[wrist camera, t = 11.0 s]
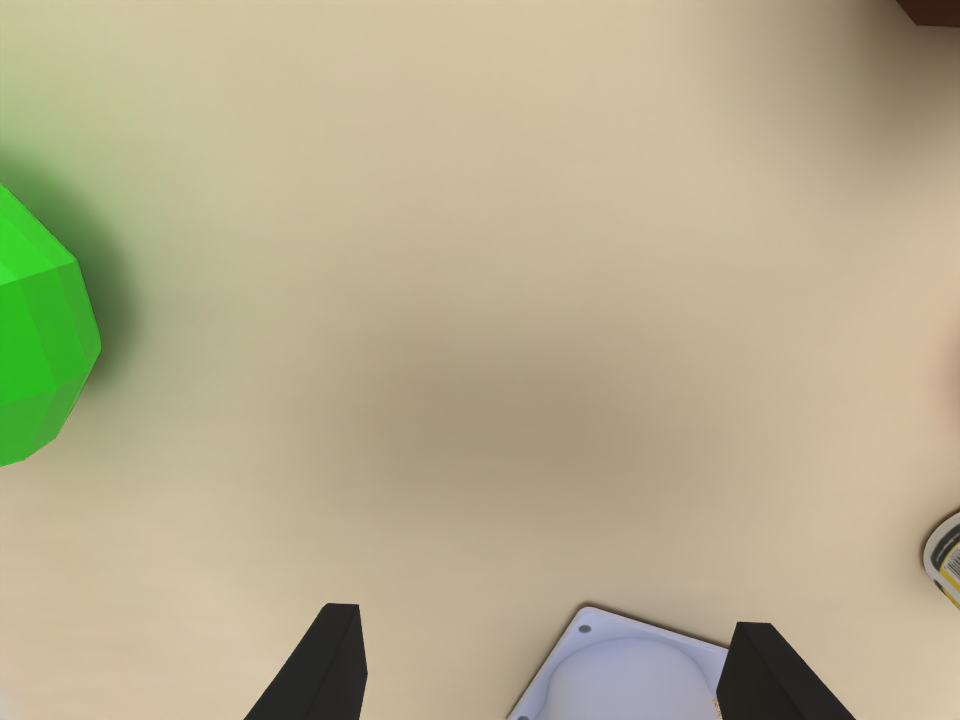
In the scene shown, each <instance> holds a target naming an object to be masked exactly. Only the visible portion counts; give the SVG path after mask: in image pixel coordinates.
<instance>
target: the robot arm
mask: <svg viewBox="0 0 960 720" xmlns="http://www.w3.org/2000/svg"><path fill="white" fill-rule="evenodd" d="M367 675H368V672H367V664H366V657H365V649H364V641H363V633H362V626H361V618H360V610H359V605H358V604H336V603H327V604H326V605H325V606H324V607H323V608H322V609H321V611H320V612H319V614H318V615H317V617H316V619H315V620H314V622H313V623H312V625H311V626H310V628H309V629H308V631H307V632H306V634H305V635H304V637H303V638H302V640H301V641H300V643H299V644H298V645H297V647H296V648H295V650H294V651H293V653H292V654H291V656H290V657H289V658H288V660H287V661H286V663H285V664H284V666H283V667H282V668H281V670H280V671H279V673H278V674H277V675H276V677H275V678H274V680H273V681H272V682H271V684H270V685H269V686H268V688H267V689H266V690H265V692H264V693H263V694H262V696H261V697H260V698H259V700H258V701H257V702H256V704H255V705H254V706H253V708H252V709H251V710H250V712H249V713H248V714H247V716H246V717H245V718H244V720H359V717H360V712H361V707H362V702H363V696H364V691H365V686H366V680H367ZM716 697H717V699H718V703H719V707H720V710H721V714H722V718H723V720H856V719H855V718H854V717H853V716H852V714H851V713H850V712H849V711H848V710H847V709H846V708H845V707H844V706H843V704H842V703H841V702H840V701H839V700H838V699H837V698H836V697H835V695H834V694H833V693H832V692H831V691H830V690H829V689H828V688H827V686H826V685H825V684H824V683H823V682H822V681H821V680H820V679H819V677H818V676H817V675H816V674H815V673H814V672H813V671H812V669H811V668H810V667H809V666H808V665H807V664H806V663H805V662H804V660H803V659H802V658H801V657H800V656H799V655H798V654H797V652H796V651H795V650H794V649H793V648H792V647H791V646H790V644H789V643H788V642H787V641H786V640H785V639H784V638H783V637H782V635H781V634H780V633H779V632H778V631H777V630H776V629H775V628H774V626H773V625H772V624H771V623H755V622H737V625H736V628H735V631H734V634H733V637H732V641H731V644H730V647H729V649H726V648H722V647H719V646H716V645H713V644H709V643H706V642H703V641H700V640H697V639H693V638H690V637H687V636H684V635H681V634H677V633H674V632H671V631H668V630H665V629H661V628H658V627H655V626H652V625H648V624H645V623H642V622H639V621H636V620H632V619H629V618H626V617H623V616H620V615H616V614H613V613H610V612H607V611H603V610H600V609H597V608H594V607H584V608H582V609H581V610H580V611H579V612H578V613H577V614H576V616H575V617H574V619H573V620H572V622H571V624H570V625H569V627H568V628H567V630H566V631H565V633H564V634H563V636H562V637H561V639H560V640H559V642H558V643H557V645H556V646H555V648H554V649H553V651H552V652H551V654H550V655H549V657H548V658H547V660H546V661H545V663H544V664H543V666H542V667H541V669H540V670H539V672H538V673H537V675H536V676H535V678H534V680H533V681H532V683H531V684H530V686H529V687H528V689H527V690H526V692H525V693H524V695H523V696H522V698H521V699H520V701H519V702H518V704H517V705H516V707H515V708H514V710H513V711H512V713H511V714H510V716H509V717H508V719H507V720H720V719H719V716H718V713H717V710H716V708H715V705H714V702H713V700H714V699H715V698H716Z"/></svg>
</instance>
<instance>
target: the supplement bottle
mask: <svg viewBox="0 0 960 720" xmlns="http://www.w3.org/2000/svg"><path fill="white" fill-rule="evenodd" d="M923 561H924V566H925V569H926V572H927V574H928V576H929V577H930V579H931V580H932V581H933V582H934V583H935V585H936V586H937V587H938V588H939V589H940V590H941V591H942V592H943V593H944V594H945V595H946V596H947V597H948V598H949V599H950V600H951V602H952V603H953V604H954V605H955V606H956V607H957V608H958V609H959V610H960V512H959V513H957V514H955V515H954V516H952V517H950V518H949V519H947V520H946V521H945V522H944V523H942V524H941V525H940V526H939V527H938V528H937V529H936V530H935V531H934V533H933V534H932V535H931V537H930V538H929V540H928V542H927V544H926V546H925V550H924V555H923Z"/></svg>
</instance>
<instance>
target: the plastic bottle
mask: <svg viewBox="0 0 960 720" xmlns="http://www.w3.org/2000/svg"><path fill="white" fill-rule="evenodd" d="M101 350H102V348H101V339H100V333H99V330H98V326H97V323H96V320H95V316H94V313H93V310H92V306H91V303H90V300H89V296H88V293H87V290H86V286H85V283H84V280H83V276H82V273H81V269H80V266H79V263H78V260H77V259H76V258H75V257H74V256H73V255H72V254H71V253H70V252H69V251H68V250H67V249H66V248H65V247H64V246H63V245H62V244H61V243H60V242H59V241H58V240H57V239H56V238H55V237H54V236H53V235H52V234H51V233H50V232H49V231H48V230H47V229H46V228H45V227H44V226H43V225H42V224H41V223H40V222H39V221H38V220H37V219H36V218H35V217H34V216H33V215H32V214H31V213H30V212H29V210H28V209H27V208H26V207H25V206H24V205H23V204H22V203H21V202H20V201H19V200H18V199H17V198H16V197H15V196H14V195H13V194H12V193H11V192H10V191H9V190H7V189H6V188H5V187H4V186H2V185H1V184H0V467H1V466H5V465H8V464H12V463H15V462H19V461H22V460H25V459H26V458H27V457H29V456H30V455H32V454H33V453H35V452H36V451H37V450H39V449H40V448H42V447H43V446H45V445H46V444H47V443H49V442H50V441H52V440H53V439H55V438H56V436H57V435H58V433H59V431H60V429H61V428H62V426H63V424H64V422H65V421H66V419H67V417H68V415H69V414H70V412H71V410H72V408H73V406H74V404H75V402H76V400H77V398H78V396H79V394H80V392H81V390H82V388H83V386H84V384H85V382H86V380H87V378H88V376H89V374H90V372H91V370H92V368H93V366H94V364H95V362H96V360H97V358H98V356H99V354H100V352H101Z"/></svg>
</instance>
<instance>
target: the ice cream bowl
mask: <svg viewBox="0 0 960 720" xmlns="http://www.w3.org/2000/svg"><path fill="white" fill-rule="evenodd" d="M897 2H898V3H899V4H900V5H901V6H902V8H903V9H904V10H905V11H906V13H907V14H908V15H909V16H910V17H911V19H912V20H913V21H914V22H915V24H916V25H923V26H951V27H960V0H897Z"/></svg>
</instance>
